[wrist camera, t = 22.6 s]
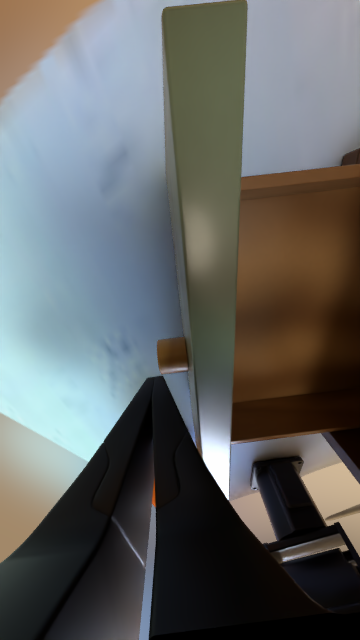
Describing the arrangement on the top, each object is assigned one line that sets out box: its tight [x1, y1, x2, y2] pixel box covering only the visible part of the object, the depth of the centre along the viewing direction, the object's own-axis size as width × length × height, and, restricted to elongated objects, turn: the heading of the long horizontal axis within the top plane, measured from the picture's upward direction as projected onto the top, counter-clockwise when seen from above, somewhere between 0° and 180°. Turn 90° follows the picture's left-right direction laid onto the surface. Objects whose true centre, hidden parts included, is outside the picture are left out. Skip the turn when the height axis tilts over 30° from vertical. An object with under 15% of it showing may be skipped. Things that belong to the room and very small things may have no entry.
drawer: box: [157, 0, 360, 501], centre depth 10 cm, size 18×18×8 cm
